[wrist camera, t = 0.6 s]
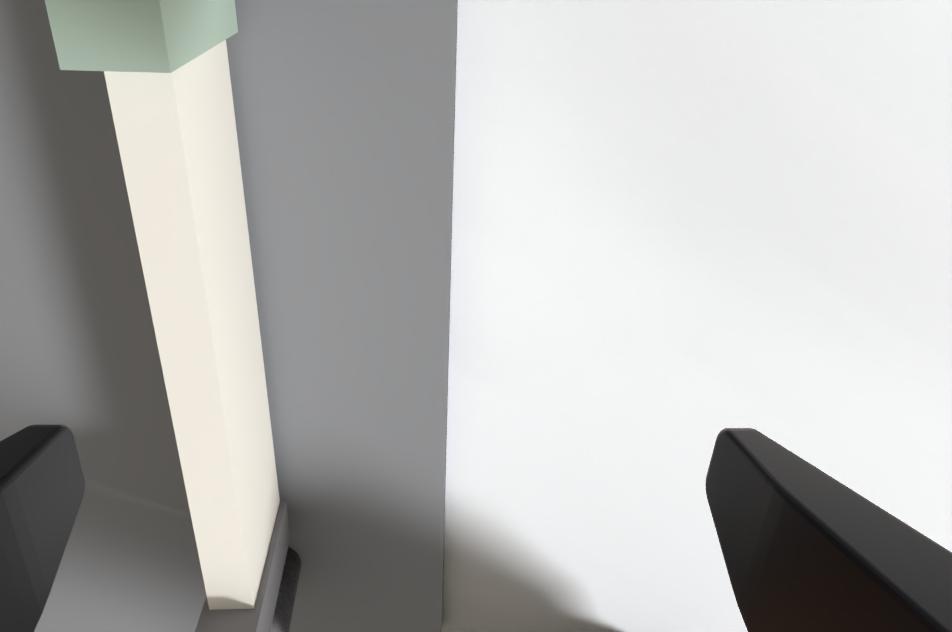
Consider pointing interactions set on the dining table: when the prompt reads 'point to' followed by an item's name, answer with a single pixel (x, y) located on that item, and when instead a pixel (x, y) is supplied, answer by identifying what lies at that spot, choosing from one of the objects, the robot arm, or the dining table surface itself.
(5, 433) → the mat
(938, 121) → the dining table surface
